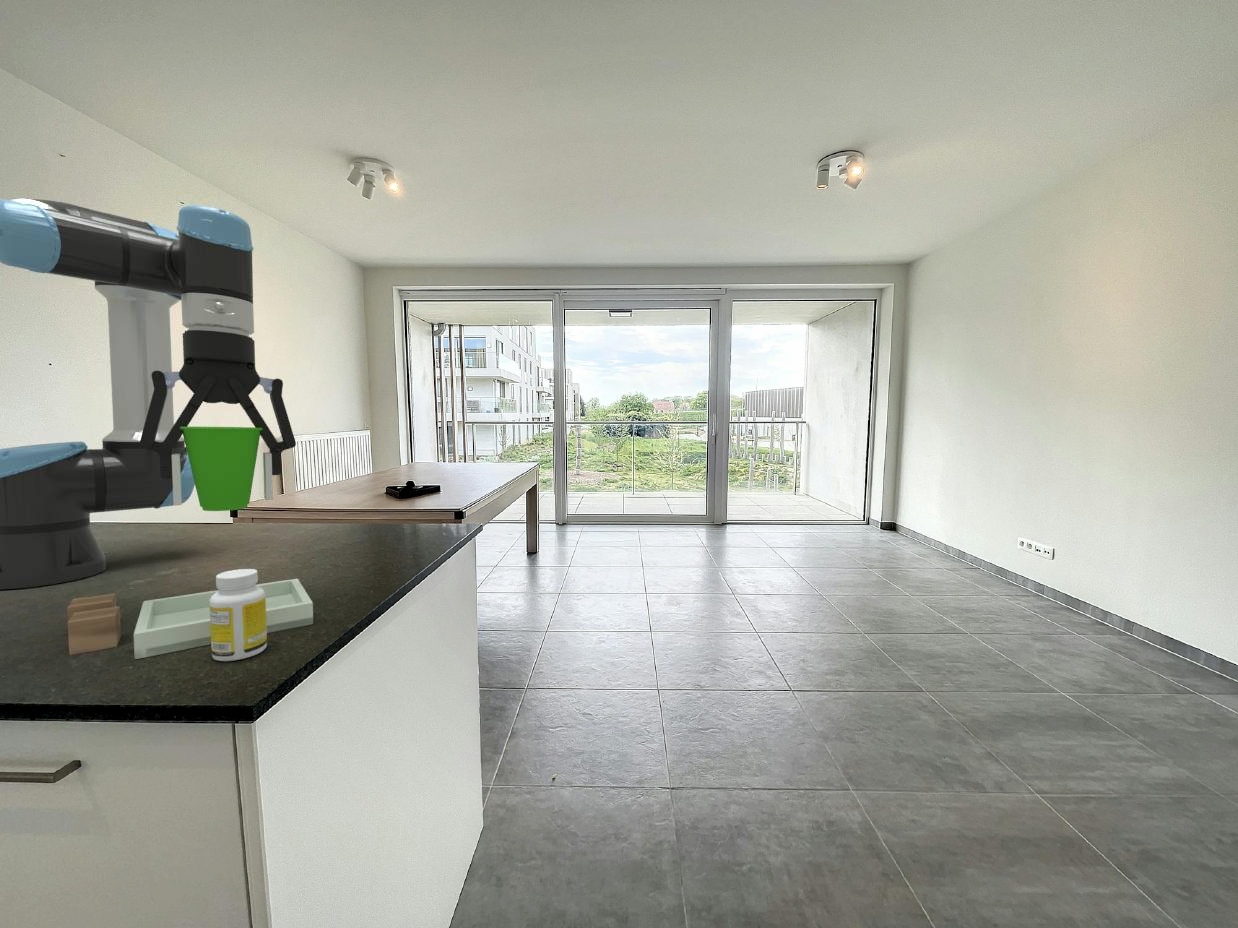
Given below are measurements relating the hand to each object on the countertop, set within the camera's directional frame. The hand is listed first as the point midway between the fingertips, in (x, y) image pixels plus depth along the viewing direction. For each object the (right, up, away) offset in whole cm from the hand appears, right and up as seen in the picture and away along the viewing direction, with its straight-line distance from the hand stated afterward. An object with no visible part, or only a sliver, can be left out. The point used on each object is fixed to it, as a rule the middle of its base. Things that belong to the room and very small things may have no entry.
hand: (225, 501), depth 69 cm
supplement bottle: (+8, -18, -8) cm, 21 cm away
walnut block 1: (-16, -17, -2) cm, 24 cm away
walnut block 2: (-11, -17, -6) cm, 22 cm away
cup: (0, -1, 0) cm, 1 cm away
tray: (0, -17, +1) cm, 17 cm away
